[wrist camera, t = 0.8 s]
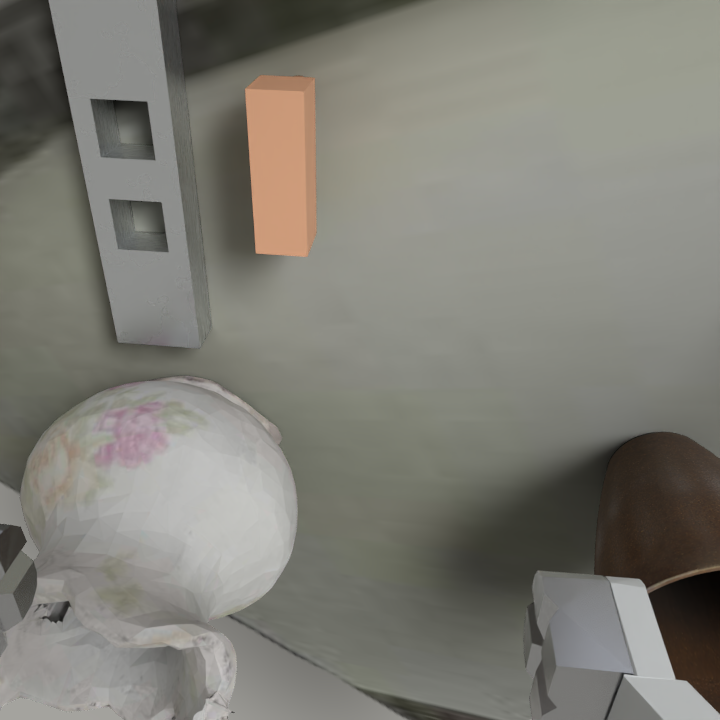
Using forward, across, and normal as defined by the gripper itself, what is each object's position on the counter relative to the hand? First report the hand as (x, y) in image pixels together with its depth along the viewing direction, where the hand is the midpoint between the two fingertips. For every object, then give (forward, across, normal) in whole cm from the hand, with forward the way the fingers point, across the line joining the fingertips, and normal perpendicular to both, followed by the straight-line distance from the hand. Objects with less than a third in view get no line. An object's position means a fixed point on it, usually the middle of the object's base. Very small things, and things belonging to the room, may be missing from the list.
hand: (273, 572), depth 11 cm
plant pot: (+36, -22, +27) cm, 50 cm away
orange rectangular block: (+35, +6, +2) cm, 36 cm away
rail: (+35, +16, +4) cm, 39 cm away
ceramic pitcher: (+36, +16, +27) cm, 48 cm away
